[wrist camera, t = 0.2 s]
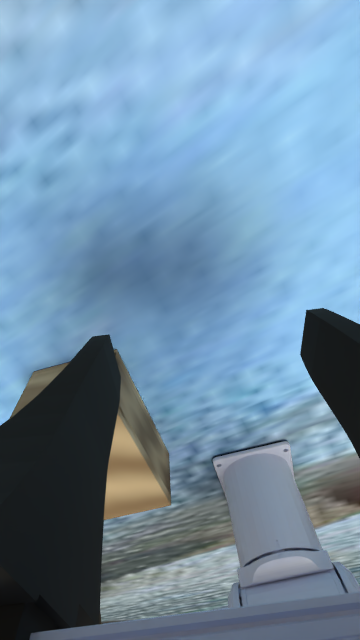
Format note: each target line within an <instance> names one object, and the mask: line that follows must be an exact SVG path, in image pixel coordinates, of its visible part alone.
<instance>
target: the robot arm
mask: <svg viewBox="0 0 360 640" xmlns="http://www.w3.org/2000/svg"><path fill="white" fill-rule="evenodd" d="M300 355H301V357H302V360H303V362H304V364H305V367H306V369H307V371H308V373H309V375H310V377H311V379H312V380H313V382H314V384H315V385H316V387H317V388H318V390H319V392H320V393H321V395H322V396H323V398H324V399H325V401H326V402H327V404H328V406H329V407H330V409H331V410H332V412H333V413H334V415H335V416H336V418H337V419H338V421H339V422H340V424H341V426H342V427H343V429H344V430H345V432H346V434H347V435H348V437H349V439H350V441H351V442H352V444H353V446H354V448H355V450H356V452H357V454H358V456H359V458H360V324H358V323H356V322H353V321H351V320H349V319H347V318H345V317H343V316H341V315H339V314H336V313H334V312H332V311H329V310H327V309H324V308H320V309H312V310H306V317H305V324H304V331H303V339H302V346H301V353H300ZM120 389H121V375H120V372H119V368H118V364H117V361H116V357H115V353H114V350H113V346H112V343H111V339H110V335H102V336H94V337H92V338H91V339H90V340H89V341H88V342H87V343H86V344H85V346H84V347H83V348H82V349H81V350H80V351H79V352H78V354H77V355H76V356H75V357H74V358H73V359H72V360H71V361H70V363H69V364H68V365H67V366H66V367H65V368H64V369H63V370H62V371H61V372H60V373H59V374H58V375H57V376H56V377H55V378H54V379H53V380H52V381H51V382H50V383H49V384H48V385H47V386H46V387H45V388H44V389H43V390H42V391H41V392H40V393H39V394H38V395H37V396H36V397H35V398H34V399H33V400H32V401H30V402H29V403H28V404H27V405H26V406H25V407H23V408H22V409H21V410H20V411H19V412H17V413H16V414H15V415H14V416H13V417H11V418H10V419H9V420H7V421H6V422H5V423H3V424H2V425H1V426H0V640H360V586H359V584H358V582H357V580H356V579H355V577H354V575H353V574H352V572H351V571H350V570H349V569H347V568H346V567H345V566H343V565H342V564H341V563H340V562H333V563H332V562H331V560H330V557H329V555H328V552H327V551H326V550H323V549H322V547H321V544H320V542H319V539H318V537H317V534H316V532H315V529H314V527H313V524H312V522H311V519H310V517H309V514H308V512H307V509H306V507H305V504H304V502H303V500H302V497H301V495H300V492H299V490H298V487H297V485H296V482H295V479H294V472H293V464H292V457H291V449H290V445H289V442H287V441H283V442H279V443H275V444H270V445H266V446H262V447H258V448H253V449H249V450H245V451H240V452H236V453H232V454H227V455H223V456H219V457H215V458H214V459H213V464H214V467H215V470H216V472H217V475H218V478H219V480H220V483H221V486H222V488H223V491H224V493H225V496H226V499H227V501H228V506H229V512H230V517H231V522H232V527H233V532H234V537H235V542H236V547H237V552H238V558H239V563H240V568H238V569H237V572H238V578H239V582H237V583H234V584H233V585H232V589H231V591H230V593H229V596H228V608H225V609H217V610H209V611H201V612H193V613H185V614H177V615H169V616H161V617H154V618H146V619H138V620H130V621H122V622H114V623H106V624H99V623H100V587H101V561H102V540H103V523H104V508H105V495H106V483H107V471H108V464H109V457H110V452H111V446H112V441H113V436H114V430H115V425H116V420H117V414H118V409H119V403H120Z"/></svg>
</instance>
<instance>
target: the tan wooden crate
mask: <svg viewBox="0 0 360 640" xmlns="http://www.w3.org/2000/svg"><path fill="white" fill-rule="evenodd" d="M114 353H115V357H116V361H117V364H118V368H119V372H120V375H121V389H120V403H119V409H118V414H117V420H116V425H115V430H114V436H113V441H112V446H111V452H110V457H109V464H108V471H107V483H106V495H105V508H104V520H106V519H111V518H115V517H120V516H124V515H129V514H133V513H138V512H143V511H147V510H152V509H156V508H161V507H165V506H170V505H171V491H170V467H169V453H168V451H167V449H166V447H165V445H164V443H163V441H162V439H161V437H160V435H159V433H158V431H157V429H156V427H155V425H154V423H153V421H152V419H151V417H150V415H149V413H148V411H147V409H146V407H145V405H144V403H143V401H142V399H141V397H140V395H139V393H138V391H137V389H136V387H135V385H134V383H133V381H132V379H131V377H130V375H129V373H128V371H127V369H126V367H125V365H124V363H123V361H122V359H121V357H120V355H119V353H118V351H117V349H116V350H114ZM69 363H70V362H68V363H64V364H61V365H57V366H53V367H50V368H46V369H42V370H39V371H35V372H33V374H32V376H31V378H30V380H29V382H28V384H27V386H26V388H25V389H24V391H23V393H22V395H21V397H20V399H19V401H18V403H17V405H16V407H15V409H14V411H13V413H12V415H11V417H13V416H14V415H15V414H16V413H17V412H19V411H20V410H21V409H22V408H23V407H25V406H26V405H27V404H28V403H29V402H30V401H32V400H33V399H34V398H35V397H36V396H37V395H38V394H39V393H40V392H41V391H42V390H43V389H44V388H45V387H46V386H47V385H48V384H49V383H50V382H51V381H52V380H53V379H54V378H55V377H56V376H57V375H58V374H59V373H60V372H61V371H62V370H63V369H64V368H65V367H66V366H67V365H68V364H69ZM11 417H10V418H11Z"/></svg>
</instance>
